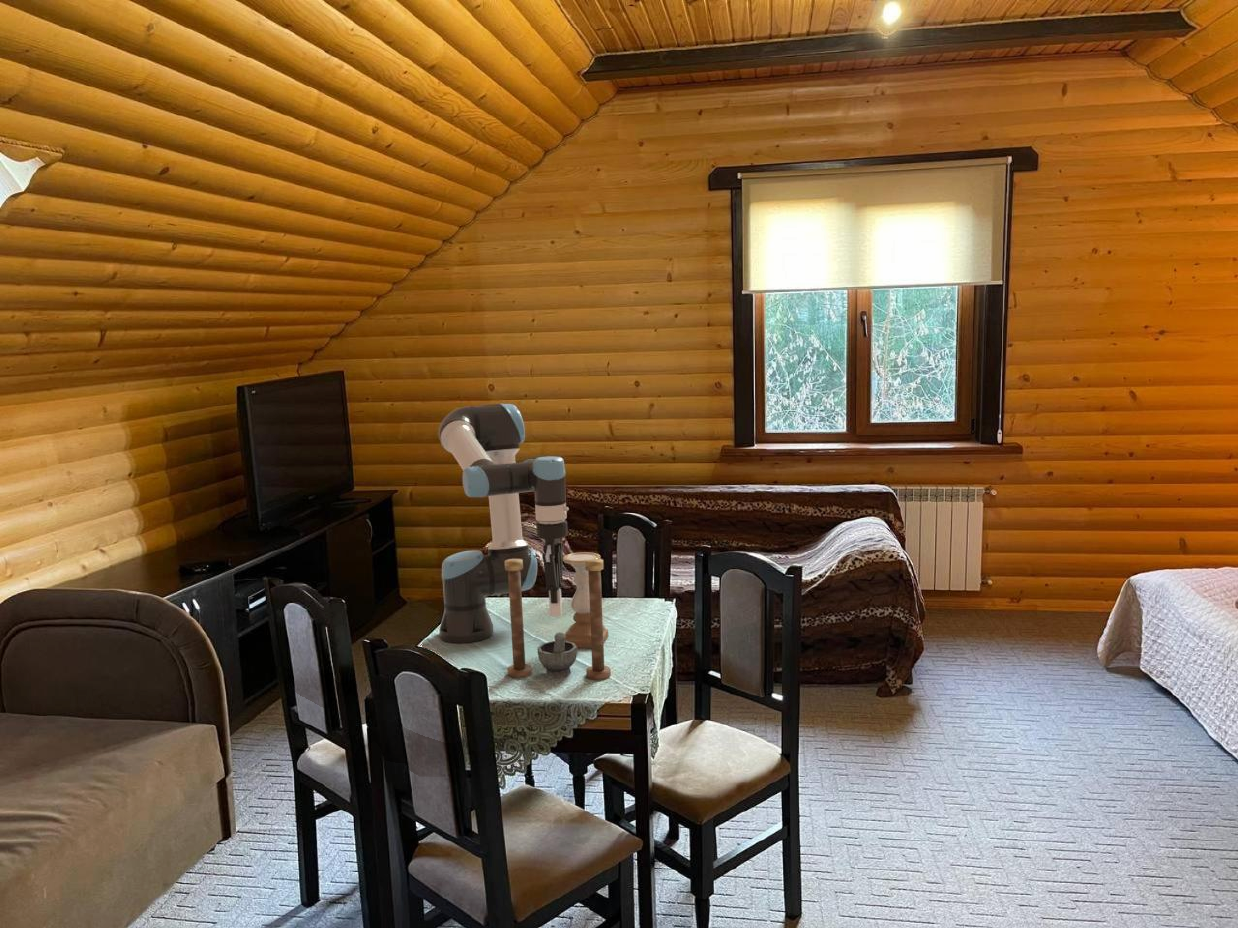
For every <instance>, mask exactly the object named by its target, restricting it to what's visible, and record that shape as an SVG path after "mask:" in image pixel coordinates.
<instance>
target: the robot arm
mask: <svg viewBox="0 0 1238 928" xmlns="http://www.w3.org/2000/svg"><path fill="white" fill-rule="evenodd" d="M438 439H439V441H440V444H441V446H442V447H443V449H444V450H445V451H447V452H448V453H450V454H452V456H453V457H454V459H455V460H456V462H457V463H458V464H459V466H460V468H461V469H462V471H463V472H462V487H463V489H464V490H463V491H464V493H465V495H466V496H467V497H469V498H484V497H488V501H489V502H488V505H489V514H490V516H489V517H490V526H491V527H490V528H491V536H492V537H491V538H492V541H491V544H489V546H488V547H487V550H488V551H487V552H488V554H484V553H483V551H481V550H476V549H474V550H465V551H463V550H462V551H460V552H456V553H453V554H451V555H449V556H447V557H445V558H444V560H443V561H442V562H441V563H442V564H441V579H442V580H441V581H442V591H443V592H442V593H443V607H444V608H443V609H444V611H443V615H442V618H441V622H440V625H439V638H440V640H442V641H444V642H447V643H451V644H452V643H454V644H465V643H466V644H467V643H474V642H479V641H483V640H485V639H488V638H490V637H491V636H493V634H494V633H495V632H494V623H493V620H492V619H491V616H490V613H489V611H488V609H487V602H486V601H487V599H486V598H487V597H490V596H496V595H497V596H498V595H504V594H505V595H506V594H509V580H508V571H506V570H505V560H508V559H522V560H523V569H522V570H520V575H521V592H525V591H528V590H530V589H532V588H533V587H534V586H535V582H536V580H537V575H538V560H537V555H536V551H535V550H534V549H532V548H530V546H529V543H528V542H527V541H526V540H525V539H524V538H523V530H522V529H523V528H522V517H521V506H520V496H519V495H520V493H530V492H534V504H535V505H534V507H535V509H534V510H535V520H536V521H537V522H536V527H535V529H536V536H537V538H538V539H541V540H542V539H543V540H544V541H545V542H544V544H543V550H542V551H543V553H542V555H541V558H542V563H543V569H544V579H545V587H544V588H545V591H548V602H549V616H552V617H556V616H557V617H558V616H560V617H561V616H562V615H563V608H562V607H563V605H562V604H563V603H562V588H565V584H564V583H563V581H564V580H563V579H564V578H563V575H564V574H563V567H564V566H563V562H564V561H563V557H564V556H563V555H564V554H563V553H564V543H563V542H561V539H563V538H566V537H567V536H568V533H569V532H568V521H567V520H566V519H567V517H568V515H567V513H568V511H569V509H570V508H569V507H568V506H567V494H566V493H567V491H566V490H567V489H566V486H567V485H566V474H567V473H566V472H567V471H566V468H565V461H564V459H563V458H562V457H561V456H554V455H553V456H552V455H551V456H547V455H546V456H540V457H536V458H534V459H527V460H524V461H521V462H520V461H519V462H517V461H516V454H518V452H519V451H520V449H521V448H520V444H523V443H524V442H525V440H526V429H525V422H524V419H523V416H522V413H521V412H520V410H519V408H518V406H516V405H514V404H511V403H498V404H495V403H494V404H484V405H472V406H469V405H467V406H462V407H458V408H455V409H453V410H452V411H450V412H449V413H447V415H445V417H444V418H443V419H442V421H441V422H440V424H439V428H438Z"/></svg>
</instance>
